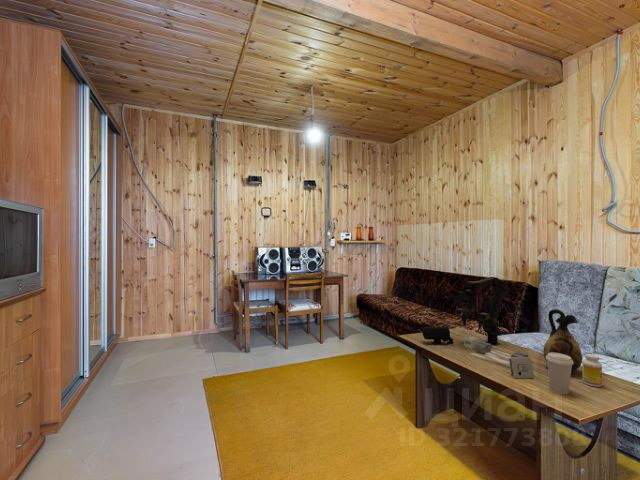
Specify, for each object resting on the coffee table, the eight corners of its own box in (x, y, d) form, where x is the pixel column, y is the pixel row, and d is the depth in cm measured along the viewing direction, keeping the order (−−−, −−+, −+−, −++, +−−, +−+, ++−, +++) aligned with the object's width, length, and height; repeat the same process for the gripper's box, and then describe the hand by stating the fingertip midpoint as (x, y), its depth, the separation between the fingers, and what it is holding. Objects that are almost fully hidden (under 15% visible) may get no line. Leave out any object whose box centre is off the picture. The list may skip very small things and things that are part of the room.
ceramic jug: (588, 373, 152) (588, 312, 152) (574, 379, 144) (574, 315, 144) (548, 361, 166) (548, 305, 167) (533, 367, 158) (534, 308, 159)
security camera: (455, 345, 191) (455, 329, 191) (425, 345, 191) (425, 329, 191) (450, 342, 198) (450, 326, 198) (421, 341, 198) (421, 326, 198)
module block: (471, 344, 194) (471, 336, 194) (479, 346, 190) (479, 338, 190) (464, 346, 189) (464, 338, 189) (471, 349, 185) (471, 340, 185)
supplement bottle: (603, 389, 135) (603, 359, 135) (583, 385, 138) (583, 356, 139) (599, 383, 141) (600, 354, 141) (581, 379, 144) (581, 352, 144)
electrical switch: (514, 378, 145) (513, 358, 146) (507, 375, 150) (507, 355, 151) (534, 379, 145) (533, 358, 146) (527, 375, 150) (526, 355, 151)
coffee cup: (543, 390, 133) (543, 355, 133) (547, 383, 140) (547, 350, 140) (571, 398, 126) (571, 361, 126) (574, 390, 133) (575, 355, 133)
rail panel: (486, 349, 184) (486, 340, 184) (532, 362, 164) (532, 352, 164) (470, 355, 174) (470, 345, 174) (516, 370, 154) (517, 359, 154)
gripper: (450, 301, 193) (450, 326, 193) (480, 306, 177) (480, 333, 177) (460, 299, 199) (460, 323, 199) (490, 304, 184) (490, 330, 184)
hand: (472, 327), depth 190 cm, fingers open, 9 cm apart
